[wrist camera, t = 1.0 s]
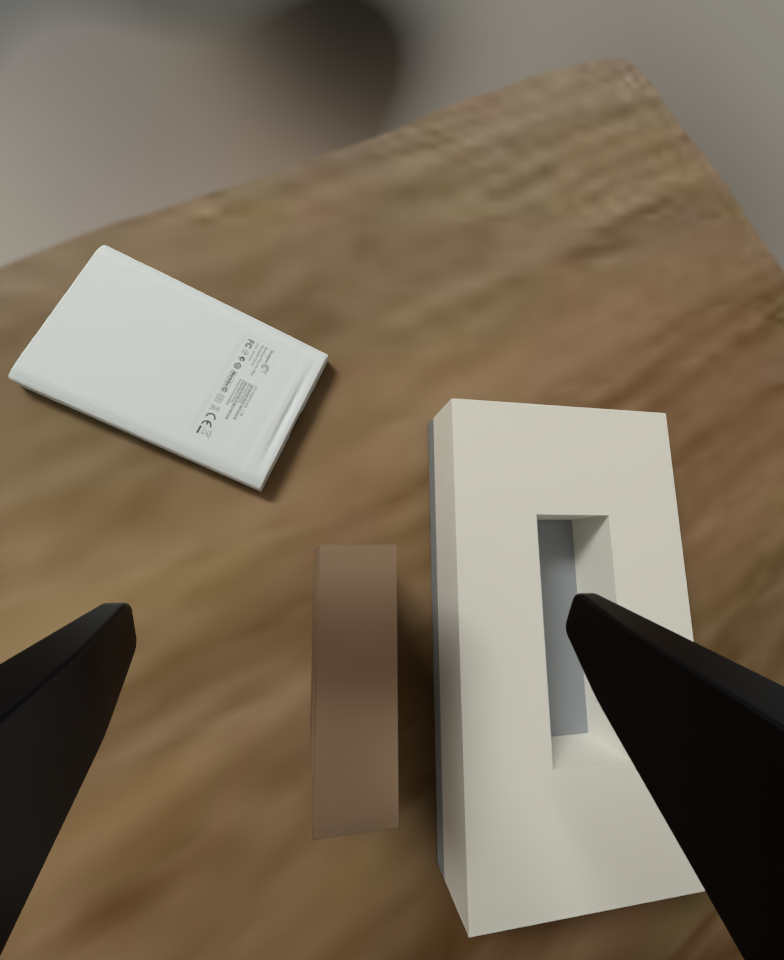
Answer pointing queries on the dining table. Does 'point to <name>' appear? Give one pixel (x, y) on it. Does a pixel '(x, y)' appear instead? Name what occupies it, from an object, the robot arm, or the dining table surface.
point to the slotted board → (545, 657)
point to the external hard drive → (172, 367)
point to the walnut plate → (354, 690)
